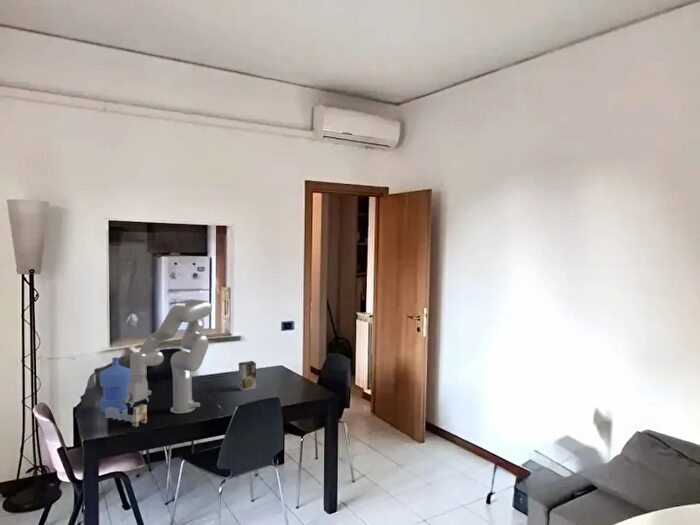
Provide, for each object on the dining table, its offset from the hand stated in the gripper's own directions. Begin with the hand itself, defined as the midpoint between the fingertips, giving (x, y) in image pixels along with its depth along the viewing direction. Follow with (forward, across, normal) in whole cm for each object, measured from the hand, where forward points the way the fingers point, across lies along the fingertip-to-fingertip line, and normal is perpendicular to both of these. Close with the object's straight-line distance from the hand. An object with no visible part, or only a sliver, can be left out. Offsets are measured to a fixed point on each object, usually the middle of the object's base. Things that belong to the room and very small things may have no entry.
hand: (137, 412), depth 250 cm
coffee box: (+4, -72, +18) cm, 74 cm away
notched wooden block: (+6, -1, 0) cm, 7 cm away
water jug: (+6, -14, -28) cm, 32 cm away
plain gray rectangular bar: (+6, -3, -14) cm, 16 cm away
